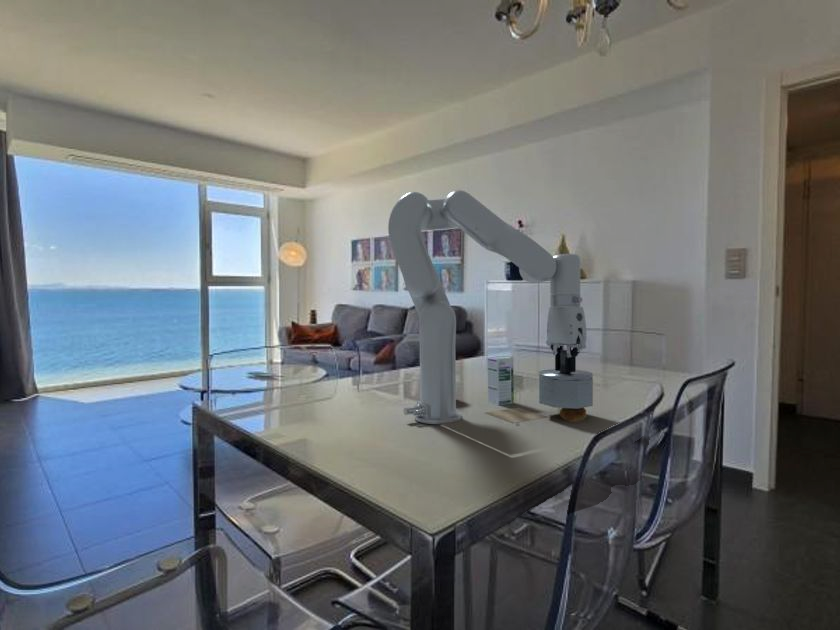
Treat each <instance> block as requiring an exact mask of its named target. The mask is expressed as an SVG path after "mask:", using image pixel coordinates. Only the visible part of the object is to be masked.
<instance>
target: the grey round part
mask: <svg viewBox="0 0 840 630" xmlns="http://www.w3.org/2000/svg"><path fill="white" fill-rule="evenodd" d="M565 357H567V349H564V350H560V371H556V370H555V368H553V369H552V368H551V369H544V370H540V371H538V380H539V381H538V385H539V387H538V389H539V390H538V391H539V393H538V394H539V395H538V396H539V397H538V398H539V402H538V403H539V404H541V405H544V406H548V407H552V408H557V409H558V408H559V409H562V408H574V409H578V408H584V409H585V408H589V407H593V406H594V405H593V404H594V403H593V402H594V401H593V400H594V399H593V397H594V394H593V393H594V392H593V391H594V390H593V389H594V387H593V384H594V381H593V378H594V375H593V372H591V371H588V370H587V371H586V370H582V369H581V370H580V369H576V371H575V372H570V373H566V372H565Z"/></svg>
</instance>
